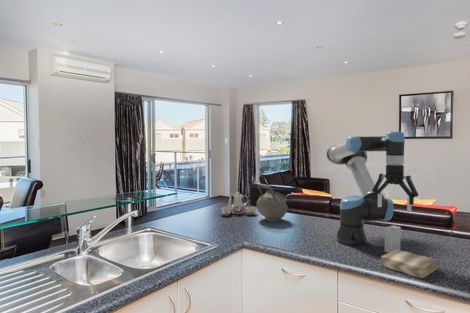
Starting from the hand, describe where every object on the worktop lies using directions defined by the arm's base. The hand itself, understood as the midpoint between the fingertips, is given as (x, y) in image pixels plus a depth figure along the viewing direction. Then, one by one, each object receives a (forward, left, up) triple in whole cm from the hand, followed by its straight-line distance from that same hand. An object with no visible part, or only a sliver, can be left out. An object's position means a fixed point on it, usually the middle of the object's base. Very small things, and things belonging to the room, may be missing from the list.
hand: (393, 209), depth 148 cm
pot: (-78, -5, -21) cm, 81 cm away
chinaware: (-107, -11, -21) cm, 109 cm away
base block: (+13, -14, -21) cm, 28 cm away
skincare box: (0, -1, -21) cm, 21 cm away
